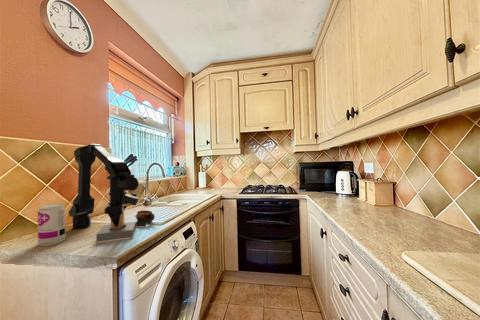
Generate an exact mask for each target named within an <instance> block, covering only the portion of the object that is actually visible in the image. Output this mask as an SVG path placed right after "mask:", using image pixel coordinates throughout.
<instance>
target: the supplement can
mask: <svg viewBox="0 0 480 320" xmlns="http://www.w3.org/2000/svg"><path fill="white" fill-rule="evenodd" d="M66 238H67V237H66V207H65V205H64V204H63V203H55V204H47V205H42V206H40V207H39V209H38V210H37V240H38V241H37V244H38V245H39V246H41V247H50V246H49V245H51V246H55V245H58V244H60V243H63V242H64V241H65V240H66Z"/></svg>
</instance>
